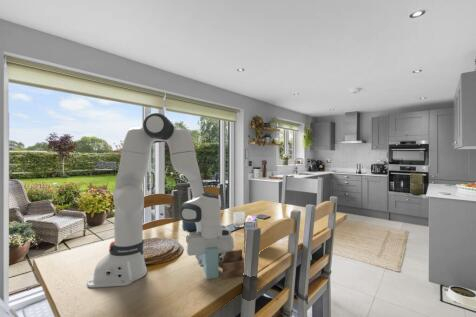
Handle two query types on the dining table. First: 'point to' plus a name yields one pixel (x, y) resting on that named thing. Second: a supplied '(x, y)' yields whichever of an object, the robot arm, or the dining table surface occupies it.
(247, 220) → the candy box
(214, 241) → the robot arm
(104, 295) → the dining table surface
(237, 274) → the walnut rack
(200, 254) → the slate coaster
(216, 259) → the teal block
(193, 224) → the canister
